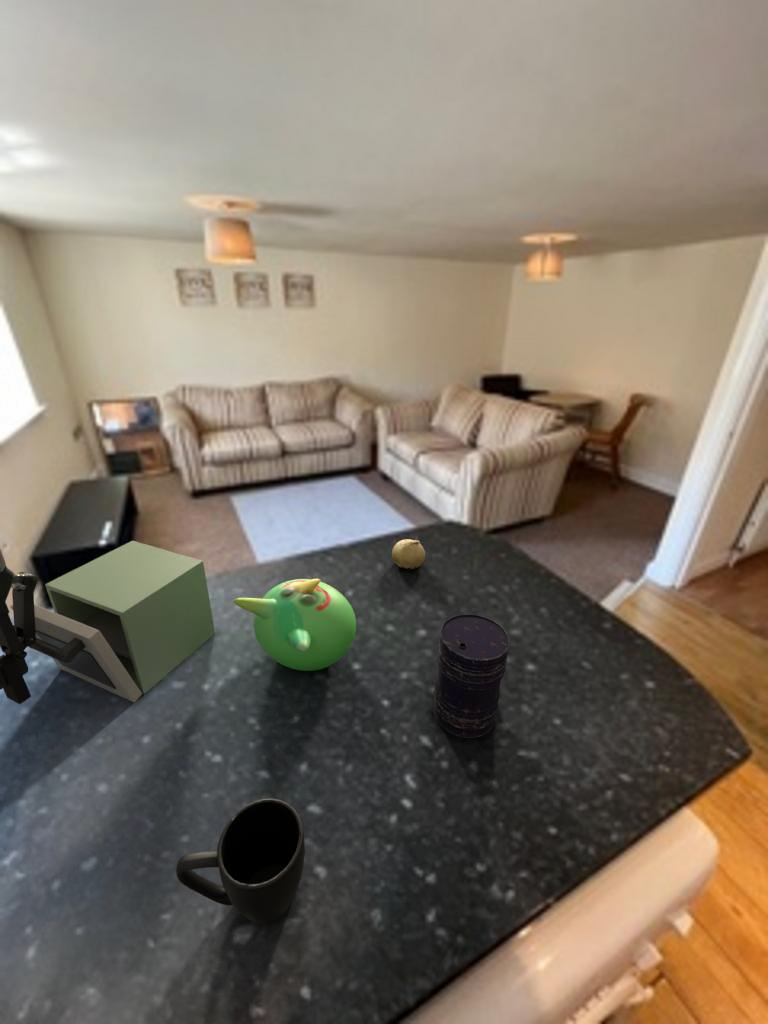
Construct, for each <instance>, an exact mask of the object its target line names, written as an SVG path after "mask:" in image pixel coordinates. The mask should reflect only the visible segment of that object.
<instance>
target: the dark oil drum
mask: <svg viewBox="0 0 768 1024" xmlns="http://www.w3.org/2000/svg"><path fill="white" fill-rule="evenodd" d="M440 628H441V629H440V635H439V642H438V648H437V658H436V659H437V665H438V670H437V675H436V677H435V683H434V689H433V705H432V711H433V715H434V717H435V719H436V721H437V723H438V724H439V725H440V726H441V728H443V729H444V730H445V731H446V732H448V733H450V734H452V735H454V736H457V737H461V738H466V739H473V738H479V737H482V736H485V735H486V734H487V733H489V732H490V731H491V730H492V728H493V727H494V725H495V721H496V718H497V713H498V711H499V705H500V697H501V682H502V679H503V677H504V675H505V673H506V667H507V662H508V653H509V647H510V638H509V635H508V633H507V631H506V630H505V629H504V628H503V626H501V625H500V624H499V623H498V622H496V621H494V620H492V619H491V618H489V617H485V616H482V615H477V614H473V613H471V614H470V613H466V614H457V615H455V616H452V617H450V618H448V619H447V620H446V621H445V622H443V624H442V626H441V627H440Z"/></svg>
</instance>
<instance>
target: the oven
mask: <svg viewBox="0 0 768 1024" xmlns="http://www.w3.org/2000/svg"><path fill="white" fill-rule="evenodd" d="M44 585H45V588H46V592H47V594H48V597H49V600H50V603H51V606H52V609H53V612H54V613H57V614H59V615H62V616H64V617H67V618H69V619H72V620H74V621H77V622H79V623H82V624H84V625H87V626H89V627H92V628H94V629H97V630H99V631H100V633H101V634H102V636H103V637H104V638H105V640H106V641H107V643H108V644H109V646H110V647H111V649H112V650H113V652H114V653H115V655H116V656H117V658H118V659H119V661H120V662H121V664H122V665H123V667H124V668H125V669H126V671H127V672H128V674H129V675H130V677H131V678H132V680H133V681H134V683H135V684H136V686H137V687H138V689H139V690H140V692H141V693H142V695H145V694H146V693H148V691H150V690H151V689H152V688H154V687H155V686H156V685H157V684H158V683H159V682H160V681H161V680H162V679H164V678H165V677H166V676H167V675H169V674H170V673H171V672H172V671H173V670H174V669H175V668H176V667H178V666H179V665H180V664H181V663H182V662H184V661H185V660H186V659H187V658H188V657H189V656H191V655H192V654H193V653H194V652H195V651H197V650H198V649H200V647H201V646H202V645H204V644H205V643H206V642H207V641H208V640H210V638H212V637H213V636H214V635H215V634H216V631H215V624H214V618H213V611H212V606H211V600H210V595H209V587H208V581H207V576H206V570H205V565H204V561H203V560H201V559H198V558H194V557H191V556H187V555H184V554H180V553H177V552H173V551H170V550H166V549H163V548H161V547H156V546H153V545H150V544H145V543H142V542H140V541H139V542H138V541H136V540H131V541H129V542H127V543H125V544H123V545H120V546H119V547H117V548H115V549H113V550H111V551H109V552H106V553H105V554H102V555H100V556H99V557H96V558H94V559H93V560H91V561H89V562H87V563H85V564H83V565H81V566H79V567H77V568H75V569H72V570H71V571H69V572H67V573H65V574H63V575H61V576H58V577H57V578H55V579H53V580H51V581H48V582H47V583H45V584H44Z"/></svg>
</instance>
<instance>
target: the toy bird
mask: <svg viewBox="0 0 768 1024" xmlns="http://www.w3.org/2000/svg"><path fill="white" fill-rule="evenodd" d="M233 603H234V604H235V605H236V606H237V607H239V608H241V609H243V610H245V611H248V612H250V613H252V614H254V616H253V617H254V618H253V631H254V634H255V638H256V640H257V642H258V644H259V645H260V648H262V649H263V651H264V652H265V653H266V654H267V655H268V656H269V657H270V658H271V659H273V661H276V663H279V664H280V665H282V666H284V667H287V668H289V669H293V670H295V671H303V672H313V671H319V670H323V669H326V668H328V667H330V666H333V665H334V664H336V663H337V662H338V661H340V660H341V659H342V658H343V657H344V656H345V655H346V653H347V652H348V651H349V649H350V647H352V645H353V642H354V639H355V636H356V632H357V631H356V630H357V619H356V614H355V611H354V609H353V607H352V605H351V604H350V602H349V601H348V600H347V598H346V597H345V596H344V595H343V594H342V593H341V592H340V591H339V590H337V588H334V587H333V586H331V585H329V584H328V583H325V582H323V581H321V579H320V578H313V579H310V578H298V579H297V578H296V579H291V580H286V581H284V582H282V583H279V584H277V585H276V586H274V587H273V588H271V589H270V590H268V592H266V594H265V595H264V596H263V597H262V598H259V597H257V598H256V597H237V598H234V600H233Z"/></svg>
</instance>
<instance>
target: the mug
mask: <svg viewBox="0 0 768 1024" xmlns="http://www.w3.org/2000/svg"><path fill="white" fill-rule="evenodd" d="M226 823H227V824H225V826H224V828H223V830H222V832H221V834H220V836H219V839H218V844H217V848H216V850H205V851H197V852H192V853H188V854H185V855H182V856H180V858H179V859H178V861H177V862H176V867H175V874H176V878H177V880H178V882H180V883H181V884H182V885H183V886H185V887H186V888H188V889H190V890H192V891H193V892H194V893H198V894H199V895H201V896H203V897H205V898H207V899H209V900H211V901H213V902H215V903H217V904H220V905H224V906H233V907H234V908H235V909H236V910H237V911H238V912H239V913H240V914H241V915H242V916H243V917H245V918H246V919H248V921H250V922H251V923H253V924H255V925H259V926H266V925H270V924H273V923H275V922H276V921H277V922H278V920H280V919H281V918H282V917H284V915H285V914H286V913H287V912H288V910H289V909H290V908H291V905H292V903H293V902H294V898H295V895H296V893H297V891H298V888H299V886H300V884H301V879H302V876H303V870H304V865H305V853H306V848H305V834H304V828H303V827H304V826H303V822H302V819H301V816H300V815H299V813H298V812H297V810H296V809H295V807H293V806H291V805H290V804H289V803H288V802H285V801H283V800H281V799H276V798H262V799H258V800H255V801H252V802H250V803H248V804H246V805H245V806H243V807H242V808H240V809H239V810H238V811H237V812H236V813H234V815H233V816H231V818H229V820H228V822H226ZM207 868H209V869H210V868H218V872H219V876H220V880H221V883H222V885H221V884H219V883H218V884H217V883H216V882H213V881H211V880H209V879H208V878H206V877H204V876H202V875H200V874H199V873H197V872H195V871H194V870H198V869H207Z"/></svg>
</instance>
